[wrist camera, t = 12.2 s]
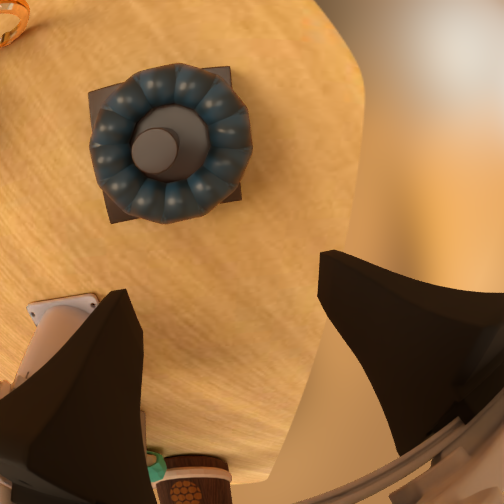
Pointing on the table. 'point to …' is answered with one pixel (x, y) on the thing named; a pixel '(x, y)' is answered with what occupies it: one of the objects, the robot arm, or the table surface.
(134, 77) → the ring
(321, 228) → the table surface
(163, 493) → the mug
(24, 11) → the ring
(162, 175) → the peg stand
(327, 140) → the table surface
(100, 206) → the table surface
